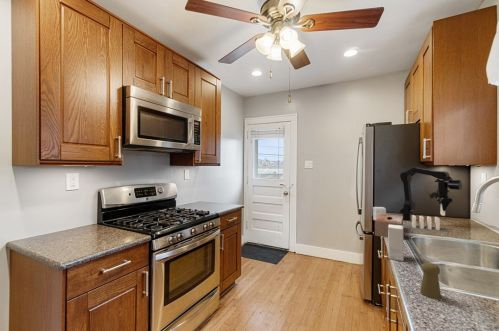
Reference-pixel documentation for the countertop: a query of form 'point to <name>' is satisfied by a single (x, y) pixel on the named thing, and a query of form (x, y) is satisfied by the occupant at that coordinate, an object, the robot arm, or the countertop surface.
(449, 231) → the rubber mat
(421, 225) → the domino
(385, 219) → the tissue box cover
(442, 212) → the domino
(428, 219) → the domino
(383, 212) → the small box
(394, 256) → the skincare box
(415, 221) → the white angular block
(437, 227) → the domino
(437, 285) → the cork
